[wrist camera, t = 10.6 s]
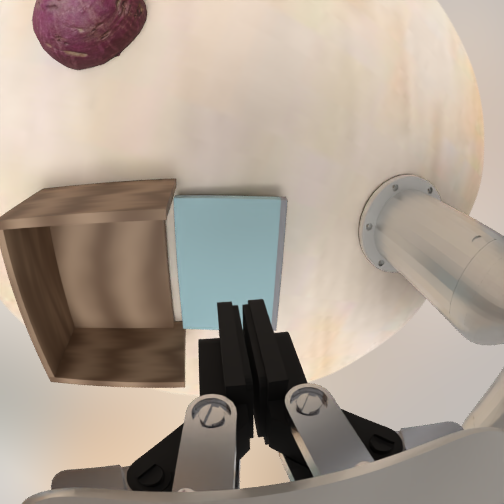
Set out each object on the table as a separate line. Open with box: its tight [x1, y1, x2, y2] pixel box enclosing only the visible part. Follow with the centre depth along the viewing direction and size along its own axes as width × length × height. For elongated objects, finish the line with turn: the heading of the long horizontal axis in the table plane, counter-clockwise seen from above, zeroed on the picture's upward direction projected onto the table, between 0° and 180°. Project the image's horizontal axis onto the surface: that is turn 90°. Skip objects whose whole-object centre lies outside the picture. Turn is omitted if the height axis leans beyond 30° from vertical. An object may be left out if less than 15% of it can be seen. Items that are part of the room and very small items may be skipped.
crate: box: [0, 179, 186, 388], centre depth 29 cm, size 15×18×10 cm
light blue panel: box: [174, 195, 287, 330], centre depth 33 cm, size 1×15×11 cm
